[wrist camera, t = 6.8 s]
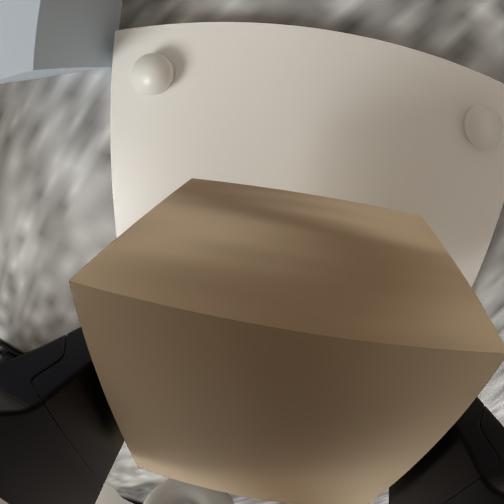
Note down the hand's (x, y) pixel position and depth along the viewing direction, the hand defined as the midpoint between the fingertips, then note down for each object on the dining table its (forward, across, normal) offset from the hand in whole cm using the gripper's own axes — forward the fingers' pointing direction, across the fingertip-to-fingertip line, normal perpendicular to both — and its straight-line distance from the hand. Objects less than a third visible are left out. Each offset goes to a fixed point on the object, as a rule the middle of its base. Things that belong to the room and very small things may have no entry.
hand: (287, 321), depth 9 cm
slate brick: (+6, +11, -9) cm, 15 cm away
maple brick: (+1, 0, 0) cm, 1 cm away
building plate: (+6, 0, 0) cm, 6 cm away
